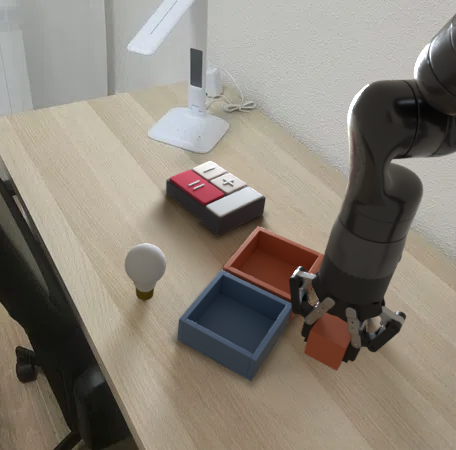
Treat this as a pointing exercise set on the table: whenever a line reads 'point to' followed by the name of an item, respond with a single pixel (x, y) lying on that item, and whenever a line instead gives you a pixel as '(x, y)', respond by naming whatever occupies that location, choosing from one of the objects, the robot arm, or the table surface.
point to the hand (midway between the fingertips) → (327, 347)
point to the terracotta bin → (272, 262)
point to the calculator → (215, 197)
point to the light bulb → (145, 268)
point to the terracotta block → (328, 341)
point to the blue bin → (234, 324)
